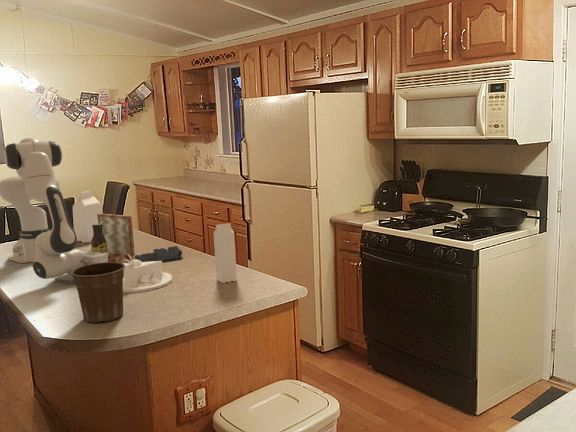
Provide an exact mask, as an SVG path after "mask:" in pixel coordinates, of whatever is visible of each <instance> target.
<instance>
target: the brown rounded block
mask: <svg viewBox="0 0 576 432" xmlns="http://www.w3.org/2000/svg"><path fill="white" fill-rule="evenodd" d="M119 259H120V256H118V257H115V262H117V263H122V264H123V263H126V261H124V260H125V259H126V256H123V257H122V260H121V262H119Z"/></svg>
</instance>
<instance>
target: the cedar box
mask: <svg viewBox="0 0 576 432" xmlns="http://www.w3.org/2000/svg"><path fill="white" fill-rule="evenodd" d="M97 217H98V224H99V223H101V224H102V225H103V227H102V231H103V235H104V237H105V240H106V242H107V252H109V256H108V262H115V257H118V256H120V259H119V262H121V260H122V257H123V256H126V259H128V260H130V261H131V259H130V257H129V256H128V255H127V254H129V255H130V256H131V258H132V260H135V256H136V253H135V243H134V242H135V241H134V232H133V229H134V228H133V221H132V216H131V215H123V214H122V215H121V214H113V213H112V214H111V213H103V214H100V213H99V214H97ZM126 263H129V262H126ZM85 265H86V264H85ZM85 265H84V266H85Z"/></svg>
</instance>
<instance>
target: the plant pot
mask: <svg viewBox="0 0 576 432" xmlns="http://www.w3.org/2000/svg"><path fill="white" fill-rule="evenodd" d="M124 268H125V265H124V264H122V263H117V262H104V263H95V264H89V265H85V266H81V267H78V268H76V269H74V270H73V271H71V275H72V276H73V278H74V282H75V283H74V285H75V286H76V290H77V294H78V299H79V304H80V308H81V312H82V318H83V320H84V322H86V321H87V322H86V323H89V322H91V323H90V324H98V323H97V322H100V323H101V322H105V321H108V322H110V321H109V320H112V321H114V320H113V319H115V320H117V319H116V318H118V317H119V318H121V317H122V316H123V315H124V293H123V278H124ZM120 316H121V317H120ZM119 318H118V319H119Z"/></svg>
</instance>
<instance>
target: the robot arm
mask: <svg viewBox="0 0 576 432" xmlns="http://www.w3.org/2000/svg"><path fill="white" fill-rule="evenodd" d="M19 141H20V142H19V143H15V142H13V143H9V144H6V146H5V147H4V149H3V153H2V154H3V155H2V157H3V161H4V163H5V165H6V167H8V168H9V169H11V170H15V171H16V173H17V175H18V176H11V177H7V178H4V179H2V180H0V197H1V198H2V200H4V201H5V202H7V203H9V204H11V206H13V207H14V208H15V210H16V212H17V214H18V216H19V221H20V225H21V226H20V227H21V230H18V232H19V233H18V234H19V235H20V236H19V239H17V241H16V243H15V244H13V246H12V255H9V256H8V257H7V259H8V260H9V261H13V262H16V263H18V264H25V263H32V268H33V272H34V273H35V275H36V276H37V277H38V278H40V279H43V280H48V279H55V278H57V277H60V276H63V275H66V274H70V273H71V271H73V270H74V269H76V268H78V267H81V266H84V265H85V264H86V265H89V264H95V263H104V262H107V261H108V256H109V252H106V251H105V252H103V253H101V252H93V251H92V249H91V250H86V249H85V250H84V249H79V248H76V245H77V242H78V241H77V237H76V233H75V231H74V227H73V225H72V223H71V221H70V218H69V217H70V216H69V213H68V210H67V206H66V202H65V199H64V197H63V194H62V192H61V190H60V189H61V184H60V180H59V179H58V178H57V177H56V176H55V174H54V173H55V172H54V169H53V168H55V167H57V166H60V164H61V163H62V160H63V150H62V148H61V145H60V144H59V143H58V142H55V141H51V140H49V141H39V140H38V139H36V138H33V137H26V138H23V139H21V140H19ZM31 200H34V201H36V202H38V203H39V202H40V203H44V204H45V205H46V207H47V208H48V211H49V215H50V218H51V222H52V228H51V229H50V228H49V227H48V218H47V212H46V211H45V210H44V208H42V207H39V206H36V205H33V204H31V202H30V201H31Z"/></svg>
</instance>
